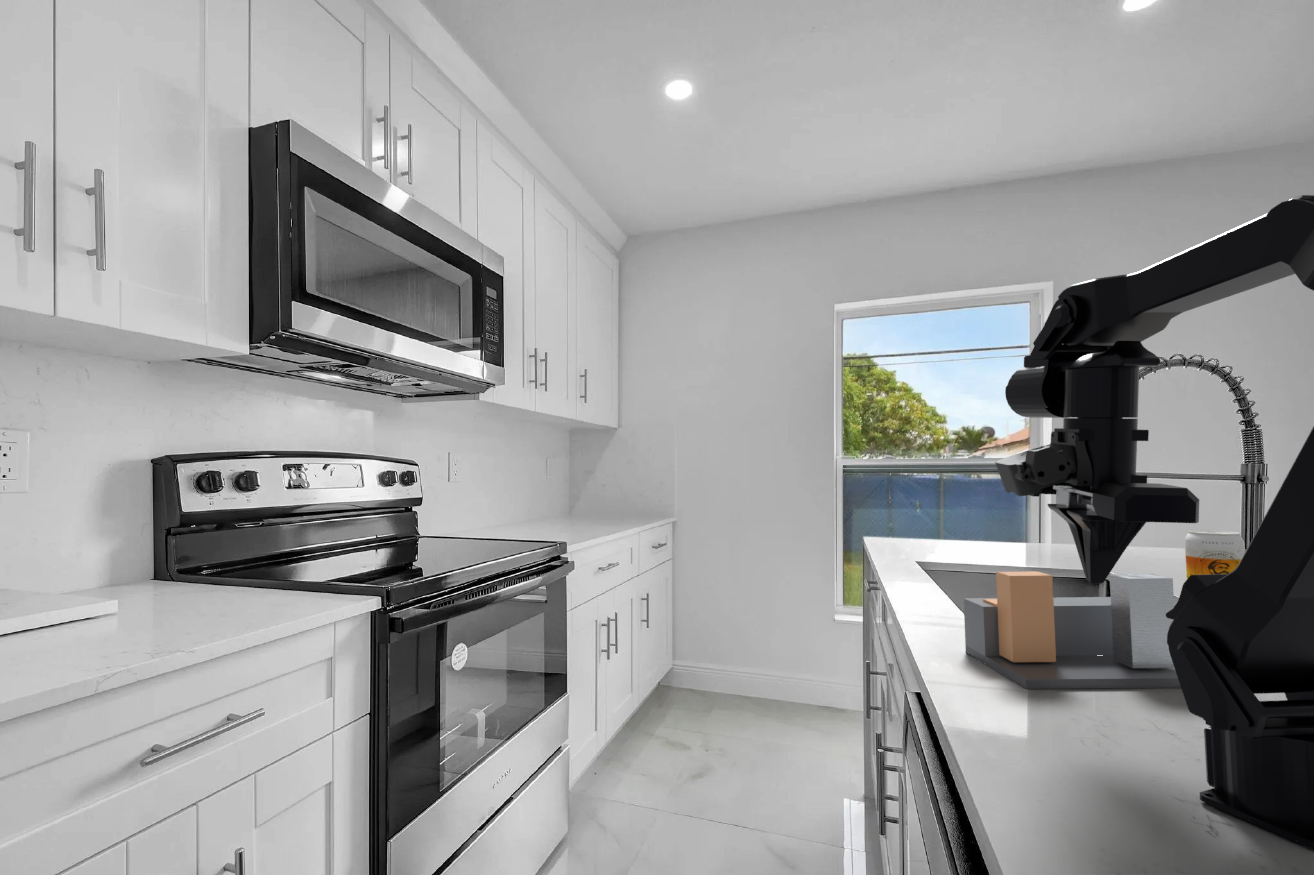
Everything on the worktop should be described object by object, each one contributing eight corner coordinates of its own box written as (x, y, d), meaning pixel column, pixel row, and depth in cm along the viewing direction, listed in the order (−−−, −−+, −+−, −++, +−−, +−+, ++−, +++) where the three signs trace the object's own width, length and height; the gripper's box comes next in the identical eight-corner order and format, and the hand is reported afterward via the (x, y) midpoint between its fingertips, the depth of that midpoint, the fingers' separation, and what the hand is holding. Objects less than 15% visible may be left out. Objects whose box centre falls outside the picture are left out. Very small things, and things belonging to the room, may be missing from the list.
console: (1211, 687, 68) (1207, 618, 68) (1026, 688, 68) (1023, 620, 68) (1120, 651, 81) (1117, 594, 82) (965, 652, 81) (963, 595, 82)
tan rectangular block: (1056, 661, 73) (1052, 575, 73) (1013, 662, 73) (1009, 575, 74) (1040, 654, 76) (1037, 571, 76) (999, 654, 76) (996, 571, 77)
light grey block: (1177, 667, 70) (1172, 578, 71) (1132, 668, 70) (1128, 578, 71) (1156, 659, 73) (1152, 573, 74) (1113, 660, 73) (1109, 574, 74)
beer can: (1197, 646, 83) (1191, 533, 84) (1184, 635, 88) (1178, 529, 89) (1258, 652, 80) (1251, 534, 81) (1241, 640, 85) (1234, 530, 86)
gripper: (974, 417, 69) (970, 557, 70) (1053, 418, 51) (1048, 608, 51) (1083, 418, 68) (1079, 561, 68) (1207, 419, 49) (1200, 615, 50)
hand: (1094, 582), depth 59 cm, fingers closed
